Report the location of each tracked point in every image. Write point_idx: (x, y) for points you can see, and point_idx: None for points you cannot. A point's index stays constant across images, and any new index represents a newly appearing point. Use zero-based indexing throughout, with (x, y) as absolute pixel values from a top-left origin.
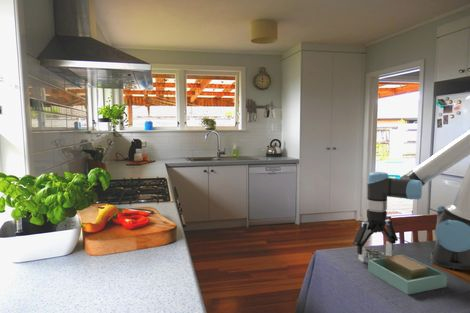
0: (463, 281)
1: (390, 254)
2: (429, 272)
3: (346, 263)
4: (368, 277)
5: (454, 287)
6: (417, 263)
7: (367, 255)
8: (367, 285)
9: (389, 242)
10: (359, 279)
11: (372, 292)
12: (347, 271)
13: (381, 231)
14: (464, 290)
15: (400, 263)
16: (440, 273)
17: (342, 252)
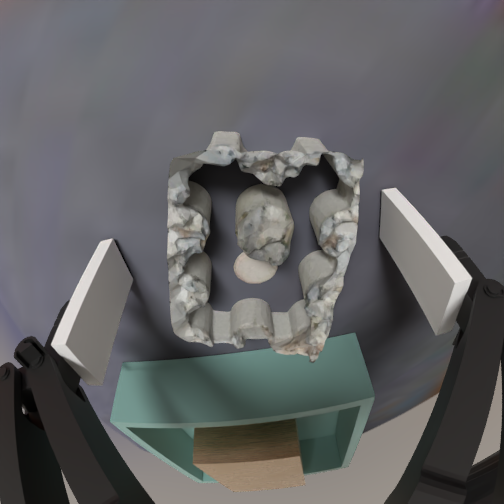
0: (428, 397)
1: (393, 259)
2: (342, 439)
3: (27, 264)
4: (117, 384)
5: (370, 421)
6: (298, 479)
7: (199, 196)
8: (104, 408)
9: (458, 306)
10: (81, 385)
11: (112, 425)
12: (37, 336)
13: (413, 474)
14: (376, 426)
15: (229, 481)
16: (342, 463)
17: (26, 56)
